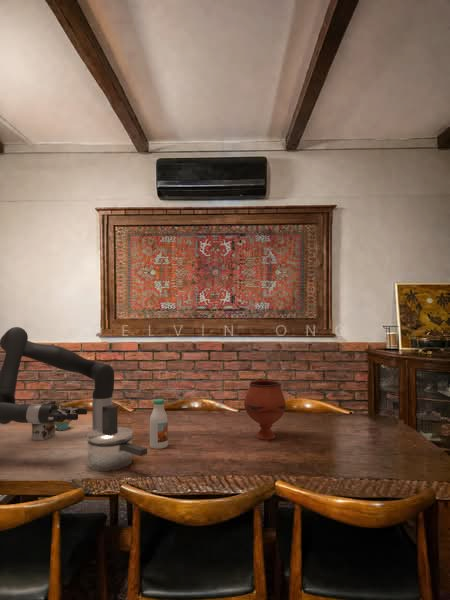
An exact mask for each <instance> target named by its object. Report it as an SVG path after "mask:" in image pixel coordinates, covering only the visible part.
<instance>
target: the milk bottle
mask: <svg viewBox="0 0 450 600" xmlns="http://www.w3.org/2000/svg"><path fill="white" fill-rule="evenodd" d="M152 404H153V405H152V406H153V409H152V411H151V412H152V413H151V415H150V419H149V447H150V449H154V450H161V449H165V448H167V447H168V445H169V421H168V415H167V412H166V411H165V407H164V405H165V399H163V398H155V399H153V401H152Z"/></svg>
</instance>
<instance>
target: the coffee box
mask: <svg viewBox="0 0 450 600" xmlns="http://www.w3.org/2000/svg"><path fill="white" fill-rule="evenodd" d="M55 403H56V401H55V400H42V401H39V402H36V403H35V404H55ZM54 436H56V425H55V422H54V423H53V424H34V423H31V440H32V441H35V440H36V441H45V440H48V439H49V438H52V437H54Z"/></svg>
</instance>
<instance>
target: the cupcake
mask: <svg viewBox="0 0 450 600" xmlns="http://www.w3.org/2000/svg"><path fill="white" fill-rule="evenodd" d="M60 405H61V404H60ZM60 405H59V409H60V408H61V407H60ZM72 421H73V420H67V421H64V422H55V428H56V429H57V430H58V431H65V430H68V428H69V425H70V423H71V422H72Z"/></svg>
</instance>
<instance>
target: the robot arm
mask: <svg viewBox="0 0 450 600" xmlns="http://www.w3.org/2000/svg"><path fill="white" fill-rule="evenodd" d="M28 336H29V335H28V333H27V331H26V330H25V329H24V328H22V327H19V326H14V327H11V328H9V329H7V331H6V332H5V333H4V334H3V335H2V336H1V337H0V348H1V349H2V350H3V351H4V352H5V356H4V359H3V363H2V366H1V369H0V425H8V424H10V423H11V422H15V423H20V424H32V423H34V424H53V423H54V422H64V421H67V420H72V421H77V420H79V416H80V415H87V414H88V408H79V406H64V408H60V409H58V408H57V406H56V405H55V404H36V403H32V404H31V403H28V404H27V403H25V404H18V403H16V397H15V396H16V395H15V394H16V390H17V389H16V388H17V382H18V375H19V370H20V366H21V365H20V364H21V361H22V357H25V358H28V359H31V360H34V361H37V362H39V363H42V364H46V365H48V366H51V367H53V368H56V369H59V370H63V371H67V372H71V373H72V372H73V373H77V374H80V375H83V376H85V377H87V378H89V379H91V380H93V381H94V390H93V391H92V397H91V398H92V399H91V400H92V415H91V416H92V417H91V419H92V421H91V422H92V423H91V425H92V430H91V431H93V430H96V429H100V428H102V407H104V406H109V405H113V395H114V390H115V371H114V368H113V367H112V365H109V364H107V363H104V362H99V361H95V360H91V359H87V358H85V357H82V355H80V354H78V353H76V352H74V351H72V350H70V349H67V348H65V347H62V346H59V345H55V344H42V343H35V342H32V341H30V340H28V339H29V337H28Z"/></svg>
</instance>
